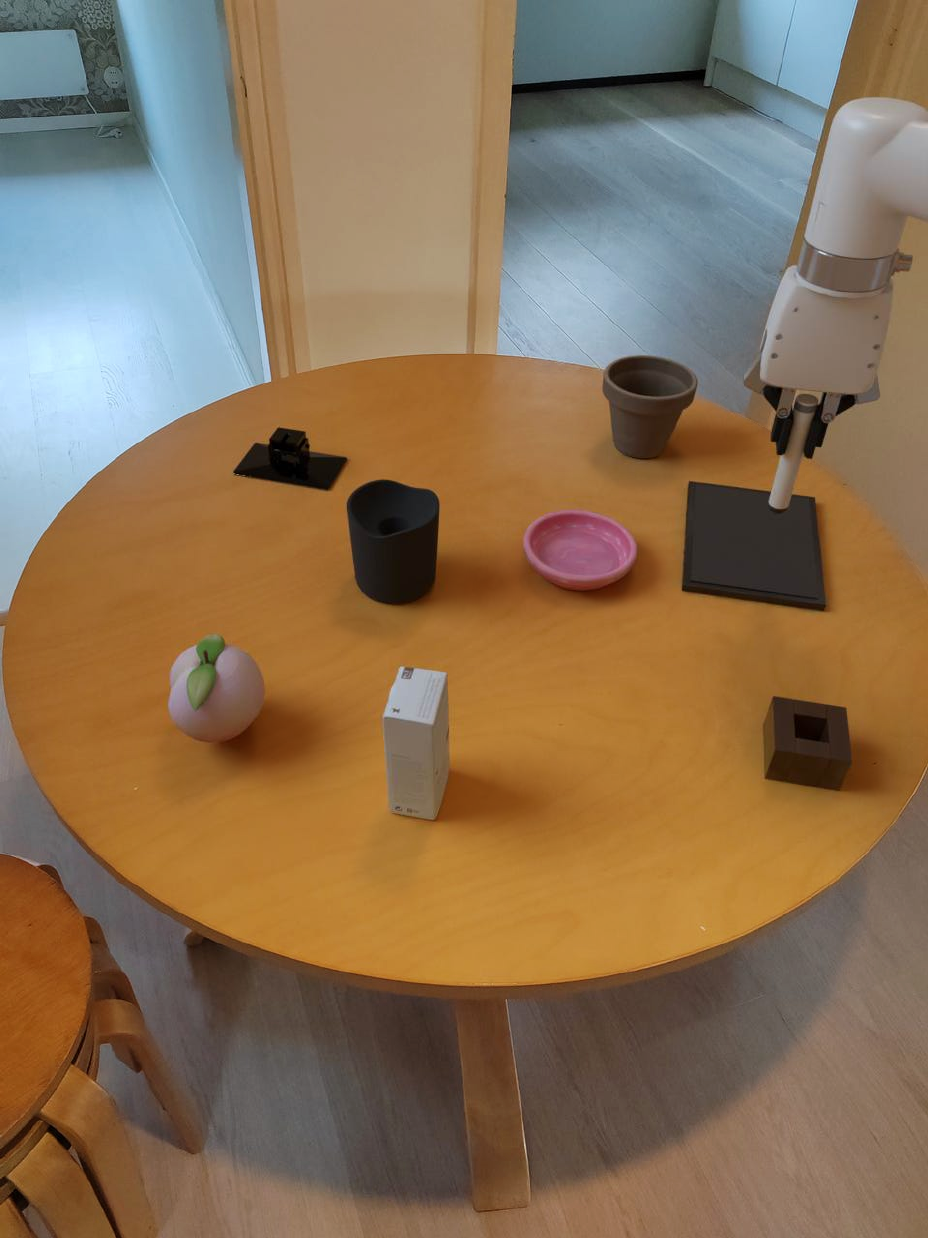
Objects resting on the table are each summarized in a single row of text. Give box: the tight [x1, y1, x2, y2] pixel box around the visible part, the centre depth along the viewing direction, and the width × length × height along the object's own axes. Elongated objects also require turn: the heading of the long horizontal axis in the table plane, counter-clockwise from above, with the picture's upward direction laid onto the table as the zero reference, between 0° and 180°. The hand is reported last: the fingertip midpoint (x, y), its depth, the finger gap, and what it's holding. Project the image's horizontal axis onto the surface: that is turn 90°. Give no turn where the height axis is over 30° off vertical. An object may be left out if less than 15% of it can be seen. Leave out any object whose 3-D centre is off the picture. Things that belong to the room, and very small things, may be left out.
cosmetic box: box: [382, 666, 451, 821], centre depth 82 cm, size 6×4×12 cm
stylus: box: [768, 393, 819, 514], centre depth 96 cm, size 2×2×13 cm
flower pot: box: [602, 354, 699, 459], centre depth 124 cm, size 12×11×10 cm
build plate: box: [232, 426, 348, 491], centre depth 121 cm, size 12×7×5 cm, turn 76°
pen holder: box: [346, 478, 441, 605], centre depth 103 cm, size 9×9×10 cm
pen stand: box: [762, 695, 853, 792], centre depth 88 cm, size 6×6×4 cm
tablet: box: [681, 480, 827, 612], centre depth 112 cm, size 15×20×1 cm
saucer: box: [522, 509, 638, 591], centre depth 108 cm, size 12×12×3 cm
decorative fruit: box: [167, 633, 266, 744], centre depth 87 cm, size 9×8×10 cm
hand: (793, 448), depth 96 cm, fingers closed on stylus, 2 cm apart
